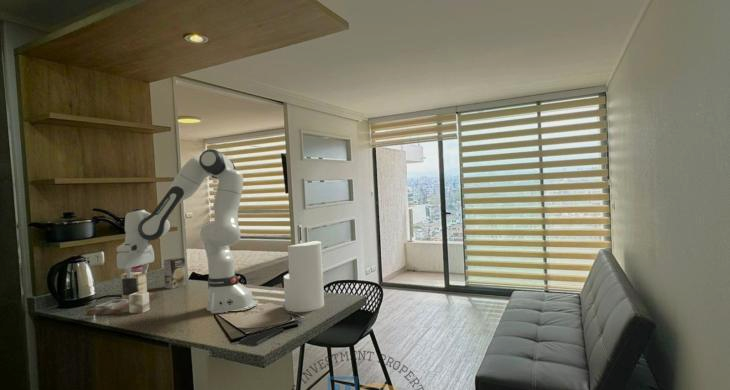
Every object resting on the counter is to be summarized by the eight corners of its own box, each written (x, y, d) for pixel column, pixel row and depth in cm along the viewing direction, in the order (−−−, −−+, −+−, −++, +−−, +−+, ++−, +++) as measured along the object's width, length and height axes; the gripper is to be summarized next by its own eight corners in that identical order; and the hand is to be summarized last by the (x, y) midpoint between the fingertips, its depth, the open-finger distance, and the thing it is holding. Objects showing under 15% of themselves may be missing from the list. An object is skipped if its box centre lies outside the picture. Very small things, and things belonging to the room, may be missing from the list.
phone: (284, 328, 140) (255, 343, 127) (284, 331, 140) (255, 347, 127) (268, 326, 144) (238, 340, 130) (268, 329, 144) (238, 343, 131)
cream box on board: (157, 296, 199) (156, 269, 199) (117, 314, 171) (116, 282, 171) (131, 297, 200) (129, 270, 200) (87, 314, 172) (85, 283, 172)
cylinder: (332, 303, 173) (329, 241, 172) (305, 314, 158) (302, 247, 158) (304, 298, 182) (301, 240, 182) (276, 308, 168) (273, 245, 168)
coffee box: (172, 289, 214) (171, 260, 214) (164, 288, 217) (163, 260, 217) (186, 285, 223) (184, 257, 223) (178, 284, 225) (176, 257, 225)
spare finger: (149, 309, 176) (148, 292, 176) (143, 312, 171) (142, 294, 171) (135, 309, 177) (134, 292, 177) (128, 312, 172) (127, 295, 172)
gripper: (145, 242, 185) (146, 271, 185) (113, 248, 164) (114, 280, 164) (157, 242, 184) (158, 271, 184) (126, 248, 164) (127, 280, 164)
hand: (137, 275), depth 174 cm, fingers open, 8 cm apart
